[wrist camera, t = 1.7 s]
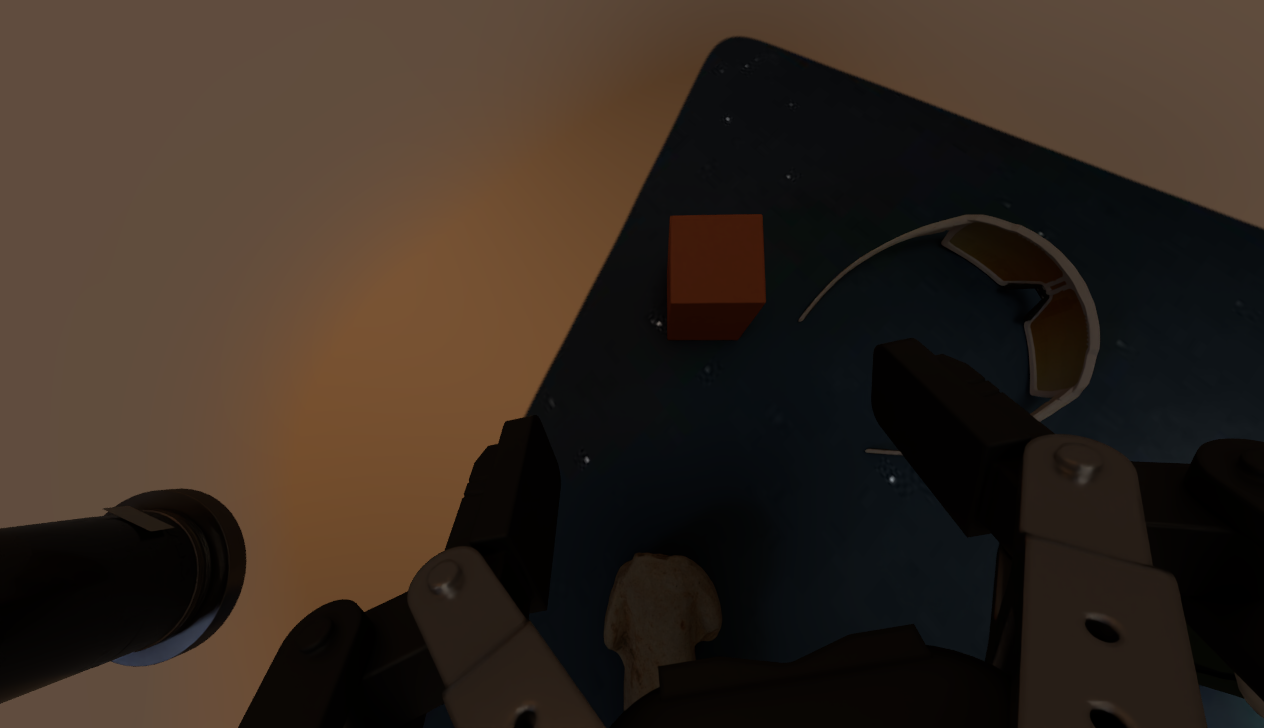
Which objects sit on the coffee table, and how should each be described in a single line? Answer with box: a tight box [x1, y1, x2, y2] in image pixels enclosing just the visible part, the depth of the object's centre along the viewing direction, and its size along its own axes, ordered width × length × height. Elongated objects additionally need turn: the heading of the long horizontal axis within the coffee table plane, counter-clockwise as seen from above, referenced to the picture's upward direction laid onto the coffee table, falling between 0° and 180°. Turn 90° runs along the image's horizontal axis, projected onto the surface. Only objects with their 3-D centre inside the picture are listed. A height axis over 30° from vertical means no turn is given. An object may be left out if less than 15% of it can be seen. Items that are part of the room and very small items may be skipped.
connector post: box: [667, 214, 766, 340], centre depth 30 cm, size 5×5×9 cm
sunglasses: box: [799, 215, 1100, 455], centre depth 32 cm, size 14×15×5 cm
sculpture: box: [604, 553, 722, 711], centre depth 29 cm, size 7×5×15 cm
